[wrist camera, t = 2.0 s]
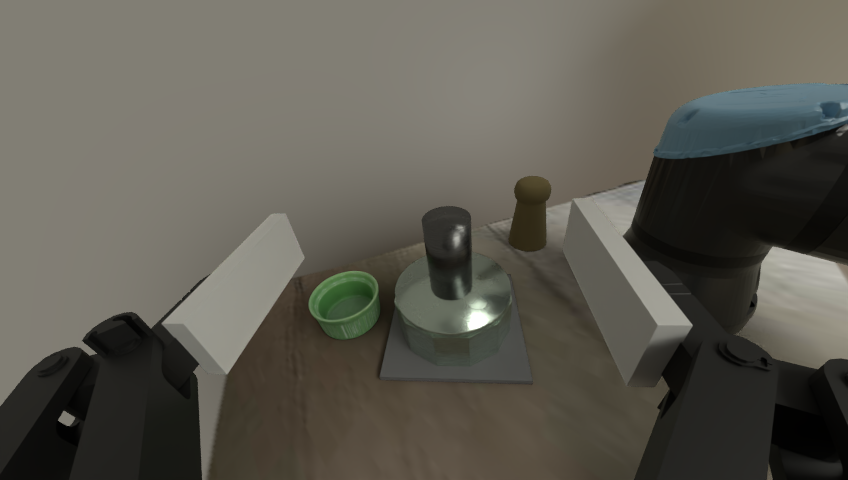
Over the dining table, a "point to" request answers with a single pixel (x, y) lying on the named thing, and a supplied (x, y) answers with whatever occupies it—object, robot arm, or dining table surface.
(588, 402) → the dining table surface
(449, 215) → the cover
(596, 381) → the dining table surface
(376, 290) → the ramekin
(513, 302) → the mat
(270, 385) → the dining table surface
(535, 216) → the cork
